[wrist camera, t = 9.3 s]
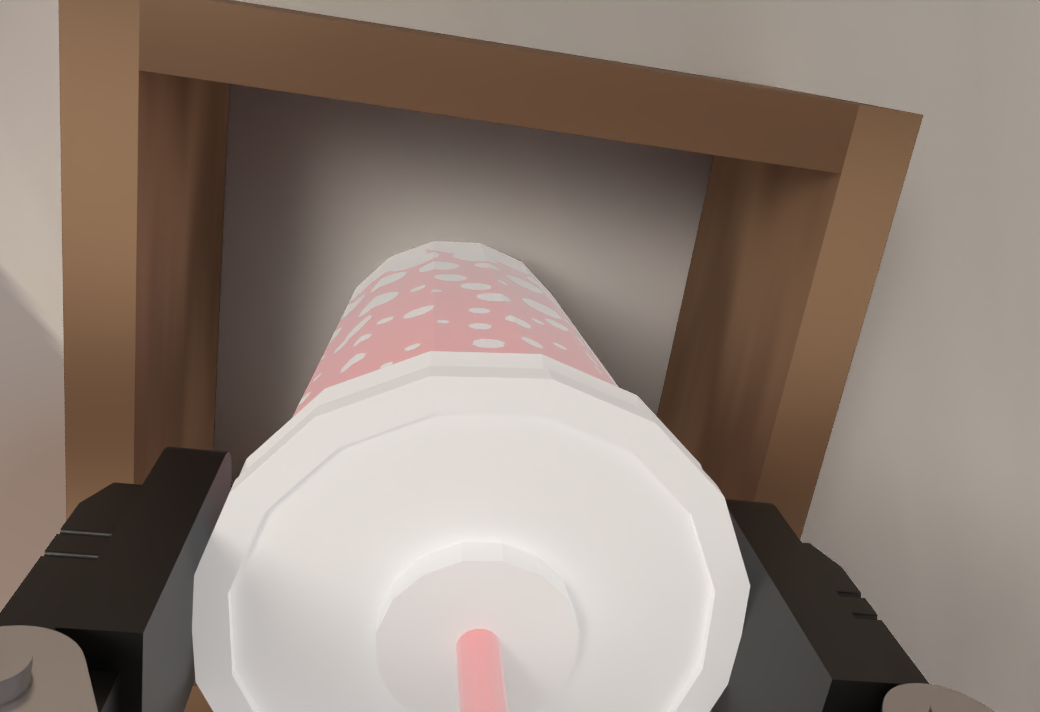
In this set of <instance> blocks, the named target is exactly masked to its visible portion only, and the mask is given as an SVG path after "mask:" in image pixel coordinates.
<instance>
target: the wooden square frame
mask: <svg viewBox="0 0 1040 712" xmlns="http://www.w3.org/2000/svg"><path fill="white" fill-rule="evenodd" d="M59 60H60V126H61V192H62V258H63V324H64V383H65V384H64V385H65V386H64V387H65V388H64V390H65V452H66V454H65V456H66V518H67V519H68V518H69V517H70V515H71V514H72V512H73V511H74V510H75V508H76V507H77V505H78V504H79V503H80V502H82V501H83V500H85V499H87V498H88V497H90V496H92V495H93V494H95V493H97V492H98V491H100V490H102V489H103V488H105V487H107V486H109V485H110V484H112V483H114V482H115V483H127V484H139V485H142V484H143V483H144V481H145V479H146V478H147V476H148V475H149V473H150V471H151V470H152V468H153V466H154V465H155V463H156V461H157V460H158V458H159V457H160V455H161V453H162V452H163V450H164V449H165V448H166V447H168V446H169V447H180V448H191V449H202V450H213V445H214V422H215V399H216V377H217V354H218V332H219V309H220V286H221V264H222V241H223V219H224V196H225V173H226V151H227V128H228V106H229V84H236V85H243V86H249V87H256V88H263V89H270V90H277V91H283V92H290V93H297V94H304V95H310V96H317V97H324V98H331V99H338V100H344V101H351V102H358V103H365V104H372V105H378V106H385V107H392V108H399V109H405V110H412V111H419V112H426V113H433V114H439V115H446V116H453V117H460V118H466V119H473V120H480V121H487V122H494V123H500V124H507V125H514V126H521V127H527V128H534V129H541V130H548V131H555V132H561V133H568V134H575V135H582V136H588V137H595V138H602V139H609V140H616V141H622V142H629V143H636V144H643V145H650V146H656V147H663V148H670V149H677V150H683V151H690V152H697V153H704V154H711V155H714V159H713V164H712V168H711V173H710V177H709V182H708V187H707V191H706V196H705V200H704V205H703V209H702V214H701V218H700V223H699V228H698V232H697V237H696V241H695V246H694V250H693V255H692V259H691V264H690V269H689V273H688V278H687V282H686V287H685V291H684V296H683V300H682V305H681V309H680V314H679V319H678V323H677V328H676V332H675V337H674V341H673V346H672V350H671V355H670V360H669V364H668V369H667V373H666V378H665V382H664V387H663V391H662V396H661V401H660V405H659V410H658V414H657V417H658V419H659V420H660V421H661V422H662V423H663V424H664V425H665V426H666V427H667V428H668V429H669V430H670V432H671V433H672V434H673V435H674V436H675V437H676V438H677V439H678V440H679V441H680V442H681V444H682V445H683V446H684V447H685V448H686V449H687V450H688V451H689V452H690V453H691V454H692V455H693V457H694V458H695V459H696V460H697V461H698V462H699V463H700V464H701V467H702V469H703V471H704V472H705V473H706V474H707V475H708V476H709V477H710V478H711V479H712V480H713V481H714V482H715V484H716V485H717V486H718V488H719V489H720V491H721V493H722V494H723V496H724V497H725V499H732V500H743V501H754V502H764V503H772V504H773V505H775V506H776V507H777V509H778V510H779V512H780V513H781V514H782V516H783V517H784V519H785V520H786V521H787V523H788V524H789V526H790V527H791V528H792V530H793V531H794V533H795V534H796V535H797V537H798V538H799V540H800V538H801V534H802V531H803V527H804V524H805V521H806V517H807V514H808V510H809V507H810V503H811V500H812V496H813V493H814V490H815V486H816V483H817V479H818V476H819V472H820V469H821V465H822V462H823V459H824V455H825V452H826V448H827V445H828V441H829V438H830V434H831V431H832V428H833V424H834V421H835V417H836V414H837V410H838V407H839V403H840V400H841V397H842V393H843V390H844V386H845V383H846V379H847V376H848V373H849V369H850V366H851V362H852V359H853V355H854V352H855V348H856V345H857V342H858V338H859V335H860V331H861V328H862V324H863V321H864V317H865V314H866V311H867V307H868V304H869V300H870V297H871V293H872V290H873V286H874V283H875V280H876V276H877V273H878V269H879V266H880V262H881V259H882V255H883V252H884V249H885V245H886V242H887V238H888V235H889V231H890V228H891V224H892V221H893V218H894V214H895V211H896V207H897V204H898V200H899V197H900V193H901V190H902V187H903V183H904V180H905V176H906V173H907V169H908V166H909V163H910V159H911V156H912V152H913V149H914V145H915V142H916V138H917V135H918V132H919V128H920V125H921V121H922V118H923V115H921V114H916V113H910V112H905V111H900V110H894V109H889V108H884V107H878V106H873V105H868V104H862V103H857V102H852V101H846V100H841V99H836V98H830V97H825V96H820V95H814V94H809V93H804V92H798V91H793V90H788V89H782V88H777V87H771V86H765V85H758V84H752V83H746V82H740V81H733V80H727V79H721V78H714V77H708V76H702V75H696V74H689V73H683V72H677V71H671V70H664V69H658V68H652V67H646V66H639V65H633V64H627V63H621V62H614V61H608V60H602V59H596V58H589V57H583V56H577V55H571V54H564V53H558V52H552V51H546V50H539V49H533V48H527V47H521V46H514V45H508V44H502V43H496V42H489V41H483V40H477V39H471V38H464V37H458V36H452V35H446V34H439V33H433V32H427V31H421V30H414V29H408V28H402V27H396V26H389V25H383V24H377V23H371V22H364V21H358V20H352V19H346V18H339V17H333V16H327V15H321V14H314V13H308V12H302V11H296V10H289V9H283V8H277V7H271V6H264V5H258V4H252V3H246V2H239V1H233V0H59ZM67 519H66V521H67ZM184 712H213V710H212V709H211V707H210V705H209V704H208V702H207V700H206V699H205V697H204V695H203V694H202V692H201V690H200V689H199V687H198V685H197V684H196V681H194V684H193V687H192V690H191V693H190V696H189V698H188V701H187V704H186V707H185V710H184ZM710 712H712V710H711V711H710Z"/></svg>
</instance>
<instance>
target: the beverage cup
mask: <svg viewBox="0 0 1040 712" xmlns="http://www.w3.org/2000/svg"><path fill="white" fill-rule="evenodd" d="M749 591H750V583H749V580H748V576H747V573H746V569H745V566H744V562H743V559H742V556H741V552H740V549H739V545H738V542H737V538H736V535H735V532H734V528H733V525H732V521H731V518H730V514H729V511H728V508H727V504H726V501H725V497H724V496H723V494H722V493H721V491H720V489H719V488H718V486H717V485H716V484H715V482H714V481H713V480H712V479H711V478H710V477H709V476H708V475H707V474H706V473H705V472H704V471H703V469H702V467H701V464H700V463H699V462H698V461H697V460H696V459H695V458H694V457H693V455H692V454H691V453H690V452H689V451H688V450H687V449H686V448H685V447H684V446H683V445H682V444H681V442H680V441H679V440H678V439H677V438H676V437H675V436H674V435H673V434H672V433H671V432H670V430H669V429H668V428H667V427H666V426H665V425H664V424H663V423H662V422H661V421H660V420H659V419H658V417H657V416H656V415H655V414H654V413H653V412H652V411H651V410H650V409H649V408H648V407H647V406H646V404H645V403H644V402H643V401H642V400H641V399H640V398H639V397H638V396H637V395H635V394H633V393H631V392H628V391H626V390H624V389H621V388H619V387H618V385H617V384H616V383H615V381H614V380H613V379H612V377H611V376H610V374H609V373H608V372H607V370H606V369H605V368H604V366H603V365H602V363H601V362H600V361H599V359H598V358H597V356H596V355H595V354H594V352H593V351H592V350H591V348H590V347H589V345H588V344H587V343H586V341H585V340H584V338H583V337H582V336H581V334H580V333H579V332H578V330H577V329H576V327H575V326H574V325H573V323H572V322H571V321H570V319H569V318H568V316H567V315H566V314H565V312H564V311H563V309H562V308H561V307H560V305H559V304H558V303H557V301H556V300H555V298H554V297H553V296H552V294H551V293H550V292H549V291H548V290H547V289H546V288H545V287H544V286H543V284H542V283H541V282H540V281H539V280H538V279H537V278H536V277H535V276H534V275H533V274H532V272H531V271H530V270H529V269H528V268H527V267H526V266H525V265H524V264H523V263H522V262H521V261H519V260H517V259H514V258H512V257H510V256H508V255H506V254H503V253H501V252H499V251H497V250H495V249H492V248H490V247H488V246H486V245H484V244H482V243H469V242H444V241H433V242H430V243H427V244H424V245H421V246H419V247H416V248H413V249H410V250H408V251H405V252H402V253H399V254H396V255H394V256H391V257H389V258H388V259H387V260H386V261H385V262H384V263H383V264H382V265H380V266H379V267H378V268H377V269H376V270H375V271H374V272H373V273H372V274H371V275H370V276H368V277H367V278H366V279H365V280H364V281H363V282H362V283H361V284H360V285H359V286H357V287H356V289H355V291H354V293H353V295H352V297H351V300H350V302H349V304H348V306H347V308H346V310H345V312H344V314H343V316H342V318H341V320H340V322H339V324H338V326H337V328H336V330H335V332H334V334H333V336H332V338H331V340H330V342H329V344H328V346H327V348H326V350H325V352H324V354H323V356H322V358H321V360H320V362H319V364H318V366H317V368H316V370H315V372H314V374H313V376H312V378H311V380H310V383H309V385H308V387H307V389H306V391H305V393H304V395H303V397H302V399H301V401H300V403H299V405H298V407H297V409H296V411H295V413H294V415H293V417H292V419H290V420H289V421H288V422H287V423H286V424H285V425H284V426H283V427H281V428H280V429H279V430H278V431H277V432H276V433H275V434H274V435H273V436H271V437H270V438H269V439H268V440H267V441H266V442H265V443H264V444H263V445H261V446H260V447H259V448H258V449H257V450H256V451H255V452H254V453H252V454H251V455H250V456H249V457H248V458H247V459H246V462H245V464H244V466H243V468H242V471H241V473H240V475H239V477H238V478H237V479H235V481H234V484H233V486H232V488H231V491H230V493H229V495H228V497H227V500H226V502H225V504H224V507H223V509H222V511H221V514H220V516H219V518H218V521H217V523H216V525H215V528H214V530H213V532H212V534H211V537H210V539H209V541H208V544H207V546H206V548H205V551H204V553H203V555H202V558H201V560H200V562H199V565H198V567H197V570H196V572H195V574H194V589H193V615H192V639H193V653H194V667H195V681H196V684H197V685H198V687H199V689H200V690H201V692H202V694H203V695H204V697H205V699H206V700H207V702H208V704H209V705H210V707H211V709H212V710H213V712H710V711H711V709H712V708H713V706H714V705H715V703H716V702H717V700H718V699H719V697H720V696H721V694H722V693H723V691H724V689H725V688H726V686H727V685H728V682H729V679H730V675H731V671H732V668H733V664H734V661H735V657H736V653H737V650H738V646H739V643H740V639H741V636H742V630H743V624H744V619H745V613H746V608H747V602H748V596H749Z"/></svg>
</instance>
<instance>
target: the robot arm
mask: <svg viewBox="0 0 1040 712" xmlns="http://www.w3.org/2000/svg"><path fill="white" fill-rule="evenodd" d="M231 476H232V461H231V455H230V453H229V452H224V451H213V450H202V449H191V448H180V447H169V446H168V447H166V448H165V449H164V450H163V452H162V453H161V455H160V457H159V458H158V460H157V461H156V463H155V465H154V466H153V468H152V470H151V471H150V473H149V475H148V476H147V478H146V479H145V481H144V483H143V484H142V485H139V484H127V483H115V482H114V483H112V484H110V485H109V486H107V487H105V488H103V489H102V490H100V491H98V492H97V493H95V494H93V495H92V496H90V497H88V498H87V499H85V500H83V501H82V502H80V503H79V504H78V505H77V507H76V508H75V510H74V511H73V512H72V514H71V515H70V517H69V518H68V519H67V521H66V522H65V524H64V525H63V526H62V528H61V531H60V534H57V535H56V536H55V538H54V539H53V540H52V542H51V543H50V545H49V546H48V547H47V549H46V550H45V555H44V556H41V557H40V558H39V560H38V561H37V563H36V564H35V565H34V567H33V568H32V569H31V571H30V573H29V574H28V575H27V577H26V578H25V579H24V581H23V582H22V583H21V585H20V586H19V588H18V589H17V590H16V592H15V593H14V595H13V596H12V597H11V599H10V600H9V602H8V603H7V604H6V606H5V607H4V609H3V610H2V611H1V613H0V712H184V710H185V707H186V704H187V701H188V698H189V696H190V693H191V690H192V687H193V684H194V681H195V667H194V653H193V639H192V615H193V589H194V574H195V572H196V570H197V567H198V565H199V562H200V560H201V558H202V555H203V553H204V551H205V548H206V546H207V544H208V541H209V539H210V537H211V534H212V532H213V530H214V528H215V525H216V523H217V521H218V518H219V516H220V514H221V511H222V509H223V507H224V504H225V502H226V500H227V497H228V495H229V493H230V491H231ZM725 501H726V504H727V508H728V511H729V514H730V518H731V521H732V525H733V528H734V532H735V535H736V538H737V542H738V545H739V549H740V552H741V556H742V559H743V562H744V566H745V569H746V573H747V576H748V580H749V583H750V591H749V596H748V602H747V608H746V613H745V619H744V624H743V630H742V636H741V639H740V643H739V646H738V650H737V653H736V657H735V661H734V664H733V668H732V671H731V675H730V679H729V682H728V685H727V686H726V688H725V689H724V691H723V693H722V694H721V696H720V697H719V699H718V700H717V702H716V703H715V705H714V706H713V708H712V709H711V710H712V712H995V711H993V710H992V709H990V708H989V707H987V706H985V705H984V704H982V703H980V702H978V701H977V700H975V699H973V698H970V697H968V696H966V695H964V694H962V693H959V692H956V691H954V690H951V689H948V688H944V687H941V686H936V685H931V684H929V683H928V682H927V680H926V679H925V678H924V676H923V675H922V674H921V672H920V671H919V670H918V668H917V667H916V666H915V664H914V663H913V662H912V660H911V659H910V658H909V656H908V655H907V654H906V652H905V651H904V650H903V648H902V647H901V646H900V644H899V643H898V642H897V640H896V639H895V638H894V636H893V635H892V634H891V632H890V631H889V630H888V628H887V627H886V626H885V624H884V623H883V622H882V620H877V614H876V612H875V611H874V610H873V608H872V607H871V606H870V604H869V603H868V602H867V600H866V599H865V598H861V592H860V591H859V590H858V588H857V587H856V586H855V584H854V583H853V582H852V581H851V579H850V578H849V577H848V575H847V574H846V573H845V571H844V570H843V569H842V567H841V566H839V565H838V564H837V563H835V562H834V561H833V560H831V559H830V558H828V557H827V556H826V555H824V554H823V553H822V552H820V551H819V550H818V549H816V548H815V547H814V546H812V545H811V544H809V543H801V541H800V540H799V538H798V537H797V535H796V534H795V533H794V531H793V530H792V528H791V527H790V526H789V524H788V523H787V521H786V520H785V519H784V517H783V516H782V514H781V513H780V512H779V510H778V509H777V507H776V506H775V505H773V504H772V503H764V502H754V501H743V500H732V499H725Z"/></svg>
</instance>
